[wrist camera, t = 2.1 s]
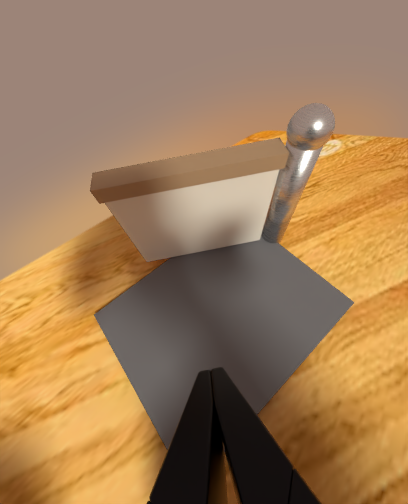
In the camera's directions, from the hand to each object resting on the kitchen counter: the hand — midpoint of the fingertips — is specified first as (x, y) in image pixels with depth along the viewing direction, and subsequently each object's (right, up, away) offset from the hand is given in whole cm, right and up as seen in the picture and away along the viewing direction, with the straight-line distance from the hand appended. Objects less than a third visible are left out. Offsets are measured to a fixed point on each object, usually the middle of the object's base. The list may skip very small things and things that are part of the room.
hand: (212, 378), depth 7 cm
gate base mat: (+1, -1, +14) cm, 14 cm away
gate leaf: (0, +5, +17) cm, 17 cm away
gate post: (+8, +6, +17) cm, 20 cm away
